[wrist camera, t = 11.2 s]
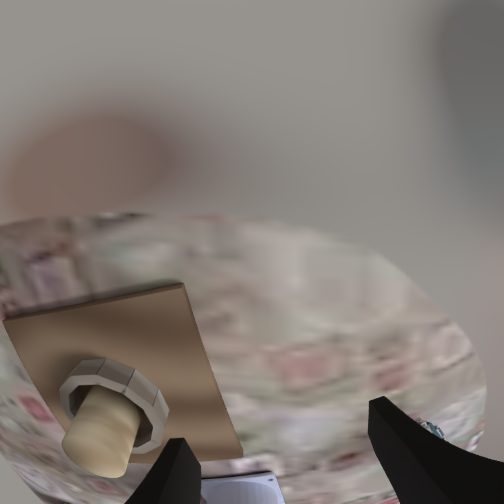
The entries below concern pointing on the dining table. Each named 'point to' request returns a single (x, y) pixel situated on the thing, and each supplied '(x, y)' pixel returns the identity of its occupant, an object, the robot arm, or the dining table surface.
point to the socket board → (130, 368)
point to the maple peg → (103, 432)
